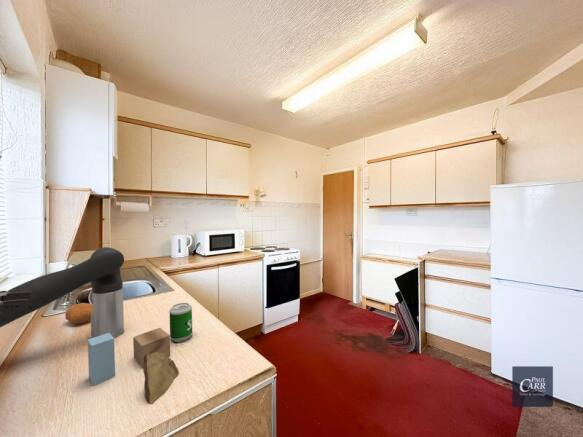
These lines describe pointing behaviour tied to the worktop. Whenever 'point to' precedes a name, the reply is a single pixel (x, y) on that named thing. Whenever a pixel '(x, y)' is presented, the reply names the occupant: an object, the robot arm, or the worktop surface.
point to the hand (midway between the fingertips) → (29, 299)
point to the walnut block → (151, 344)
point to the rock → (157, 375)
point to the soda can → (180, 322)
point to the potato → (79, 313)
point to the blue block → (101, 358)
